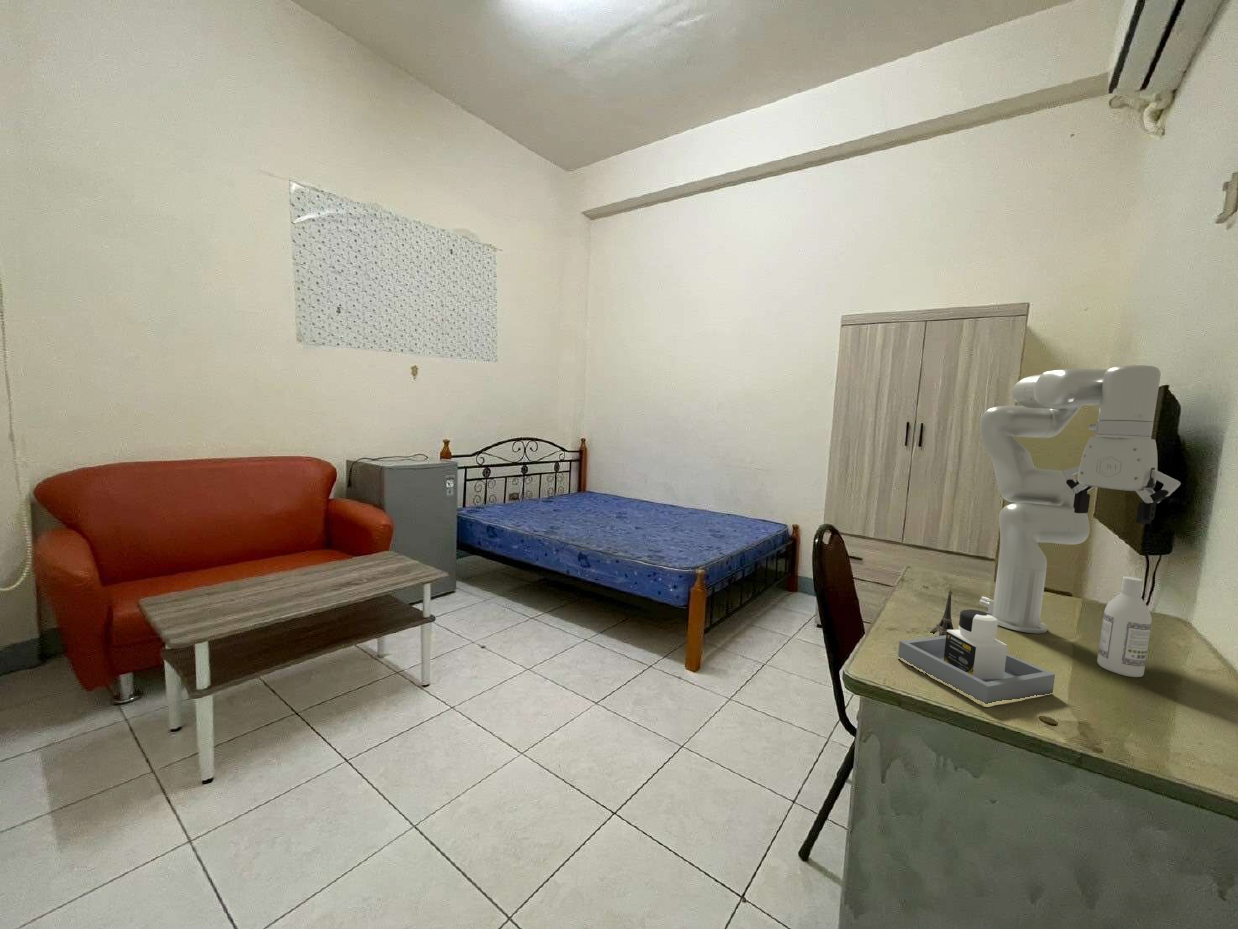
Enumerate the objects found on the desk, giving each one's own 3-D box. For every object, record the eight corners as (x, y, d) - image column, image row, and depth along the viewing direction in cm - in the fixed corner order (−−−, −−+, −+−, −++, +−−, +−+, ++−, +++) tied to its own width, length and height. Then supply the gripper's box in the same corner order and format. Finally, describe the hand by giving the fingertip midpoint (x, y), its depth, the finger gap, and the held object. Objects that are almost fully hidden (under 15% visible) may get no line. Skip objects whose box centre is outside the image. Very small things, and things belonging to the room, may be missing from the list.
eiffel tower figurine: (958, 659, 105) (965, 600, 104) (908, 641, 113) (914, 585, 112) (983, 643, 114) (990, 588, 112) (935, 627, 122) (941, 576, 121)
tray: (897, 659, 102) (899, 641, 102) (958, 650, 108) (960, 633, 108) (985, 708, 85) (988, 686, 85) (1052, 694, 91) (1055, 674, 91)
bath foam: (1149, 674, 101) (1163, 581, 99) (1135, 681, 98) (1149, 585, 96) (1105, 659, 107) (1118, 571, 106) (1090, 665, 104) (1103, 574, 103)
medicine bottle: (942, 662, 100) (948, 606, 99) (973, 662, 101) (979, 606, 100) (971, 681, 93) (978, 620, 92) (1004, 680, 94) (1011, 620, 93)
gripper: (1058, 428, 101) (1047, 509, 102) (1174, 431, 84) (1159, 528, 86) (1081, 430, 103) (1070, 509, 104) (1199, 433, 87) (1183, 527, 88)
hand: (1110, 517), depth 95 cm, fingers open, 9 cm apart
